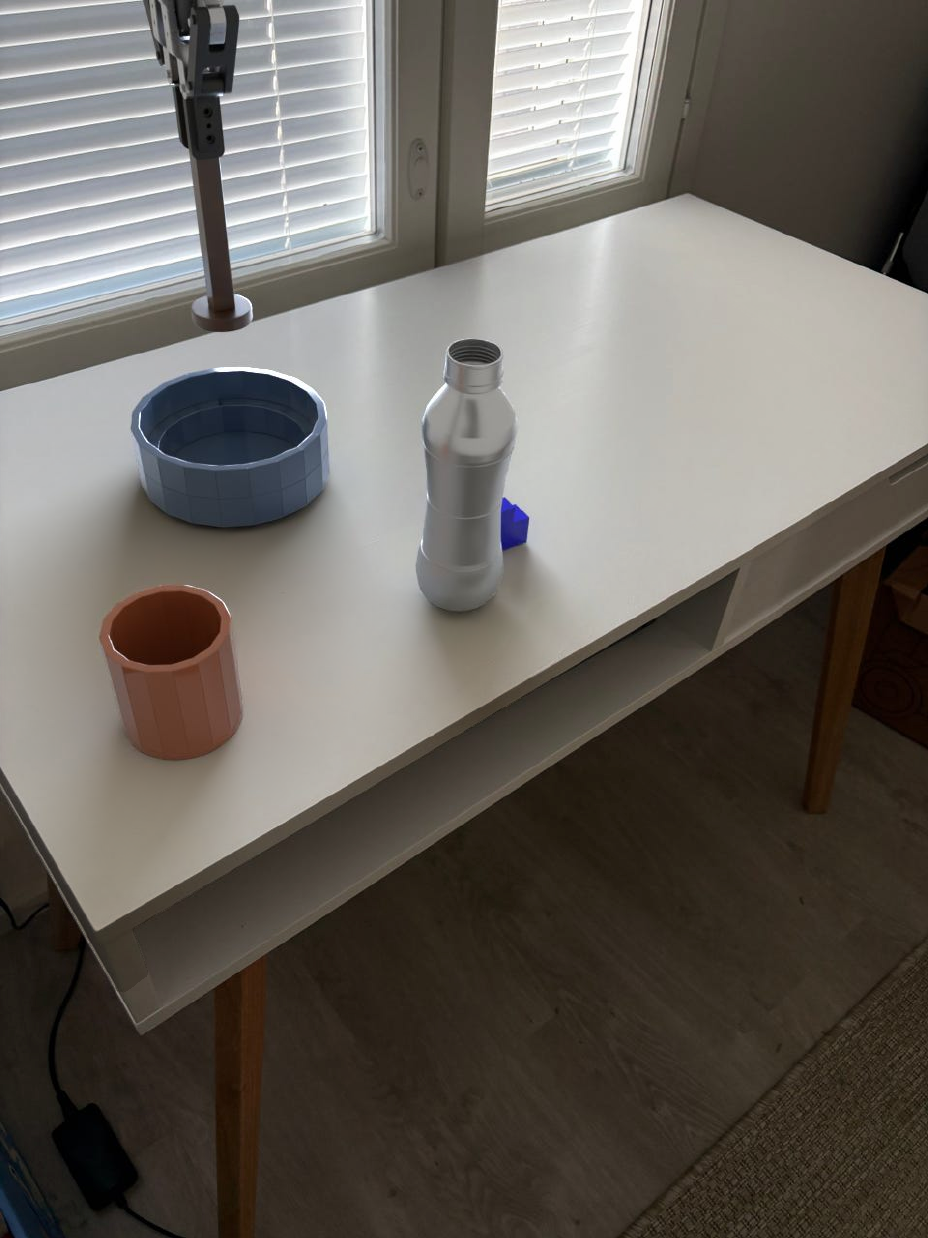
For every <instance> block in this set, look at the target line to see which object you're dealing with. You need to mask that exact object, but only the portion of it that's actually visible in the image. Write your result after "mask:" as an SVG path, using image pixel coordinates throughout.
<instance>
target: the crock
mask: <svg viewBox="0 0 928 1238" xmlns="http://www.w3.org/2000/svg"><path fill="white" fill-rule="evenodd" d="M232 619H233V618H232V614H231V613H230V611H229V609H228V607H227V605H226V603H225V602H224V601H223V600H222V599H220V598H219V597H217V596H216V595H215V594H213V593H212V592H210V590H206V589H203V588H199V587H196V586H191V585H188V584H162V585H157V586H153V587H149V588H146V589H143V590H139V591H136V592H133V593H132V594H130V595H128V596H127V597H125V598H124V599H122V600H120V601H118V602H117V603H116V604H115V605H113V607H112V608H111V610H109V612H108V613H107V614H106V616H105V617H103V620H102V621H101V627H100V631H99V635H98V640H99V644H100V648H101V651H102V655H103V659H104V663H105V666H106V670H107V674H108V677H109V682H110V685H111V689H112V692H113V696H114V700H115V705H116V707H117V712H118V715H119V719H120V722H121V724H122V728H123V730H124V734H125V735H126V738H127V740H128V741H129V742H130V744H131V745H132V746H133V747H134V748H136V749H137V750H138V751H140V752H141V753H143V754H145V755H147V756H150V757H153V758H156V759H161V760H168V761H179V760H188V759H193V758H197V757H201V756H203V755H205V754H208V753H211V752H212V751H214V750H216V749H218V748H219V747H221V746H222V745H224V744H225V743H226V742H227V741H229V739H230V738H231V737H232V736H233V735H234V734H235V733H236V731H237V729H238V728H239V725H241V721H242V718H243V712H244V707H243V694H242V693H243V692H242V683H241V678H240V670H239V663H238V657H237V648H236V641H235V634H234V627H233V626H234V625H233V620H232Z"/></svg>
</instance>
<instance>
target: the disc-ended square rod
mask: <svg viewBox="0 0 928 1238" xmlns="http://www.w3.org/2000/svg"><path fill="white" fill-rule="evenodd" d="M206 72H209V68H208V69H207V68H205V69H204V70H203V73H206ZM182 96H183V95H182ZM182 99H183V98H182ZM183 107H184V106H183ZM184 115H185V114H184ZM185 123H186V122H185ZM186 131H187V130H186ZM187 139H188V138H187ZM188 147H189V146H188ZM188 153H189V163H190V170H191V171H190V172H191V179H192V187H193V194H194V204H195V211H196V218H197V228H198V235H199V242H200V253H201V261H202V268H203V275H204V283H205V292H206V295H204V296H201V297H199V298H197V299H195V300H194V301H193V302H192V304H191V307H190V308H191V317H192V322H193V323H194V325H195V326H196V327H198V328H199V329H201V330H204V331H209V332H212V333H213V332H214V333H230V332H235V331H239V330H241V329H244V328H246V327H248V326H249V325H250V324H251V323H252V321H253V318H254V315H253V314H254V313H253V306H252V302H251V301H250V300H249V299H248V298H247V297H244V296H242V295H240V294H235V293H234V292H235V291H234V282H233V273H232V262H231V255H230V245H229V236H228V226H227V218H226V207H225V206H226V205H225V197H224V196H225V195H224V187H223V186H224V185H223V178H222V168H221V157H220V158H213V159H204V160H197V159H195V158H194V157H193V156H192V155H191V153H190V152H189V151H188Z"/></svg>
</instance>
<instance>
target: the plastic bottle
mask: <svg viewBox="0 0 928 1238" xmlns="http://www.w3.org/2000/svg"><path fill="white" fill-rule="evenodd" d="M444 360H445V361H444V362H445V363H444V367H443V374H442V377H443V381H444V382H445V384H443V386H442V387H441V388H439V390H438V391H437V392H436V393H435V394H434V396H433V398H431V400H430V401H429V403H428V404H427V406H426V408H425V411H424V414H423V416H422V421H421V435H422V436H421V437H422V443H423V453H424V461H425V469H426V510H425V517H424V525H423V531H422V537H421V540H420V544H419V546H418V551H417V556H416V561H415V573H416V578H417V585H418V587H419V590H420V591H421V593H422V594H423V596H424V597H425V598H426V599H427V600H428V601H430V603H431V604H433V605H435V606H436V607H437V608H440V609H442V610H444V611H445V610H446V611H450V612H468V611H472V610H475V609H478V608H480V607H481V606H483V605H484V604H486V603H487V602H489V601H490V600H491V599H492V598H493V597H494V595H495V594H497V592H498V588H499V586H500V583H501V580H502V578H503V575H504V553H503V551H502V546H501V504H502V498H503V497H504V493H505V492H504V491H505V485H506V479H507V475H508V472H509V467H510V464H511V460H512V457H513V452H514V449H515V445H516V443H517V442H516V441H517V436H518V431H519V423H518V419H517V414H516V410H515V408H514V406H513V404H512V403H511V401H510V399H509V398H508V396H507V394H506V393H505V392H504V390H503V389H502V387H500V386H501V385H502V383H503V380H504V369H503V367H504V366H503V365H504V352H503V349H502V347H501V346H500V345H499V344H498V343H496V342H493V341H491V340H489V339H485V338H478V337H466V338H460V339H457V340H455V341H453V342H451V343H450V344H449V345H448V346H447V348H446V350H445V359H444Z"/></svg>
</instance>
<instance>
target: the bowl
mask: <svg viewBox="0 0 928 1238" xmlns="http://www.w3.org/2000/svg"><path fill="white" fill-rule="evenodd" d="M328 433H329V431H328V417H327V409H326V404H325V402H324V400H322V398H321V397H320V395H319V394H318V393H317V392H316V391H315V389H314V388H312V387H311V386H309V385H308V384H306V383H304V382H303V381H301V380H299V379H298V378H296V377H293V376H290V375H287V374H285V373H284V374H283V373H280V372H277V371H274V370H270V369H263V368H254V367H245V366H244V367H243V366H237V367H236V366H235V367H215V368H208V369H203V370H199V371H193V372H188V373H184V374H183V375H179V376H177V377H175V378H172V379H169V380H167V381H165V382H162V383H160V384H159V385H158V386H157V387H155V388H154V389H152V390H151V391H149V392H148V393H146V394H145V395H144V396H142V398H141V399H140V400H139V402H138V403H137V404H136V406H135V408H134V409H133V410H132V412H131V421H130V434H131V439H132V444H133V448H134V449H133V450H134V453H135V458H136V463H137V469H138V473H139V474H138V475H139V479H140V484H141V487H142V488H143V490H144V492H145V494H146V496H147V498H148V500H149V501H150V502H152V503H153V504H154V505H155V506H156V507H158V508H159V509H160V510H161V511H163V512H164V513H166V514H167V515H168V516H171V517H173V518H176V519H179V520H182V521H185V522H188V523H190V524H194V525H199V526H200V525H202V526H208V527H217V528H234V527H248V526H249V527H250V526H258V525H260V524H265V523H268V522H272V521H275V520H279V519H283V518H285V517H287V516H289V515H291V514H293V513H295V512H297V511H298V510H301V509H302V508H304V507H306V506H308V505H309V504H310V503H311V502H312V501H313V500H314V499H315V498H316V497H317V496H318V495H319V494H320V493H322V491H323V490H324V487H325V486H326V482H327V480H328V478H329V475H330V455H329V434H328Z"/></svg>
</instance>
